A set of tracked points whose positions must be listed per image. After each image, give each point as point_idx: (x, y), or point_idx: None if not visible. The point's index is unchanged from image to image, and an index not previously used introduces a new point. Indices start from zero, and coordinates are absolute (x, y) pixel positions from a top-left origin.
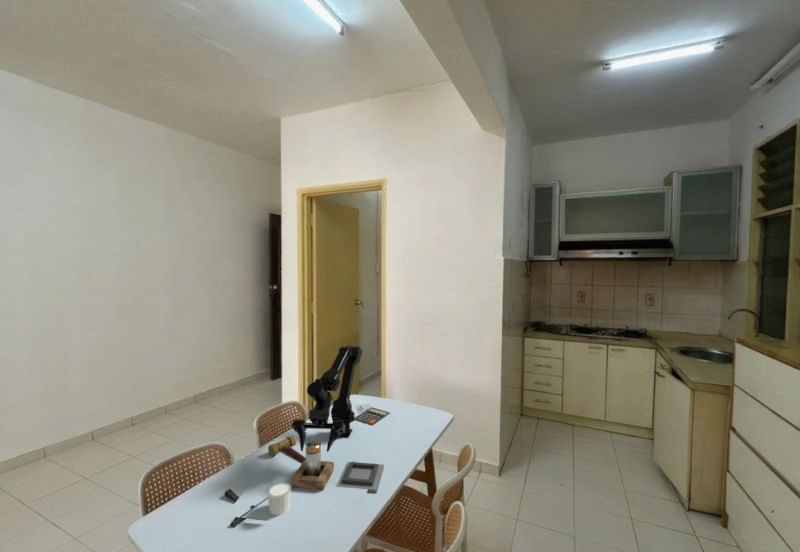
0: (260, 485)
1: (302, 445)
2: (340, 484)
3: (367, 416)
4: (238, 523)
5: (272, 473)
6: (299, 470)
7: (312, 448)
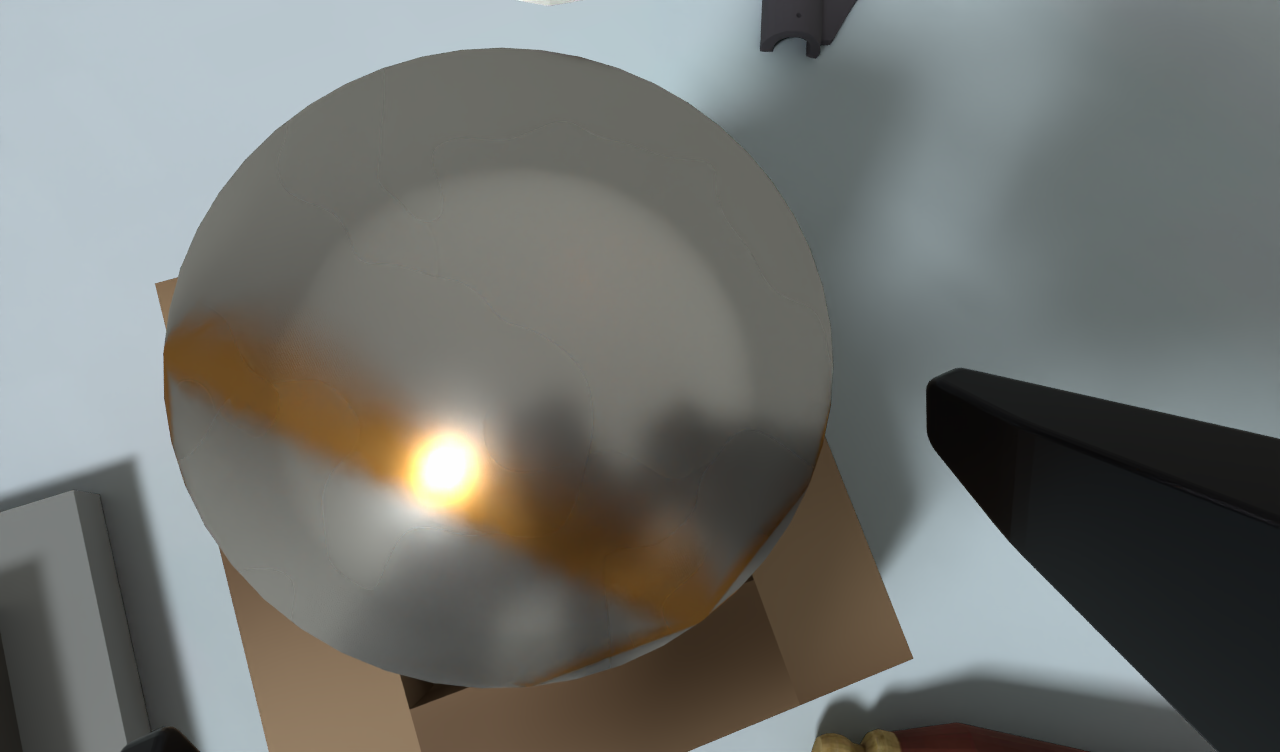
0: (1080, 143)
1: (1026, 424)
2: (18, 560)
3: None
4: None
5: (1163, 375)
6: None
7: (351, 104)
